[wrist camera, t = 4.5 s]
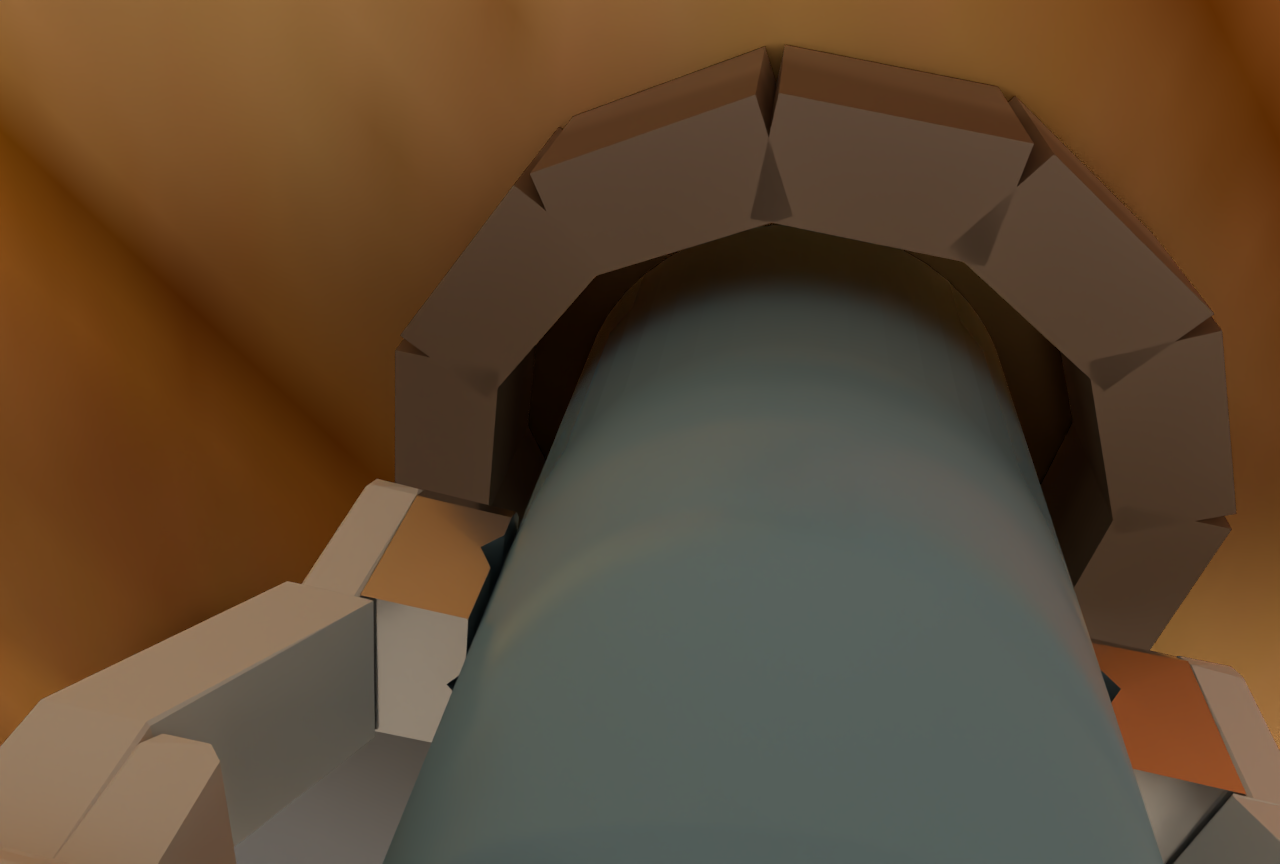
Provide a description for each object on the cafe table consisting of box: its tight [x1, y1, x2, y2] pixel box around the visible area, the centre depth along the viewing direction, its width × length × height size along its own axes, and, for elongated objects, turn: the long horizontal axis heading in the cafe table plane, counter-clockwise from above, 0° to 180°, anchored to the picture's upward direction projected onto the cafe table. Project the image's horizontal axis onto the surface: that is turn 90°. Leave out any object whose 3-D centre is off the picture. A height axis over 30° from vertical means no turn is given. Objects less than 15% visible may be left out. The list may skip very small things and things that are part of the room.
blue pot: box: [383, 224, 1164, 864], centre depth 11 cm, size 10×6×8 cm, turn 171°
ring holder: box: [395, 45, 1236, 651], centre depth 12 cm, size 9×9×2 cm
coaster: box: [234, 731, 432, 864], centre depth 19 cm, size 9×9×1 cm
